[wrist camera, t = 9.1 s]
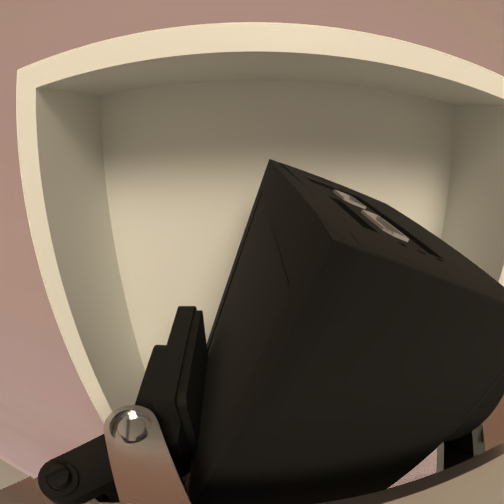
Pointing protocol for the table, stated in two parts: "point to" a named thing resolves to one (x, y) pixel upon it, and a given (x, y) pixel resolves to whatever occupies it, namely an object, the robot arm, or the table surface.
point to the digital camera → (340, 349)
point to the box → (232, 165)
